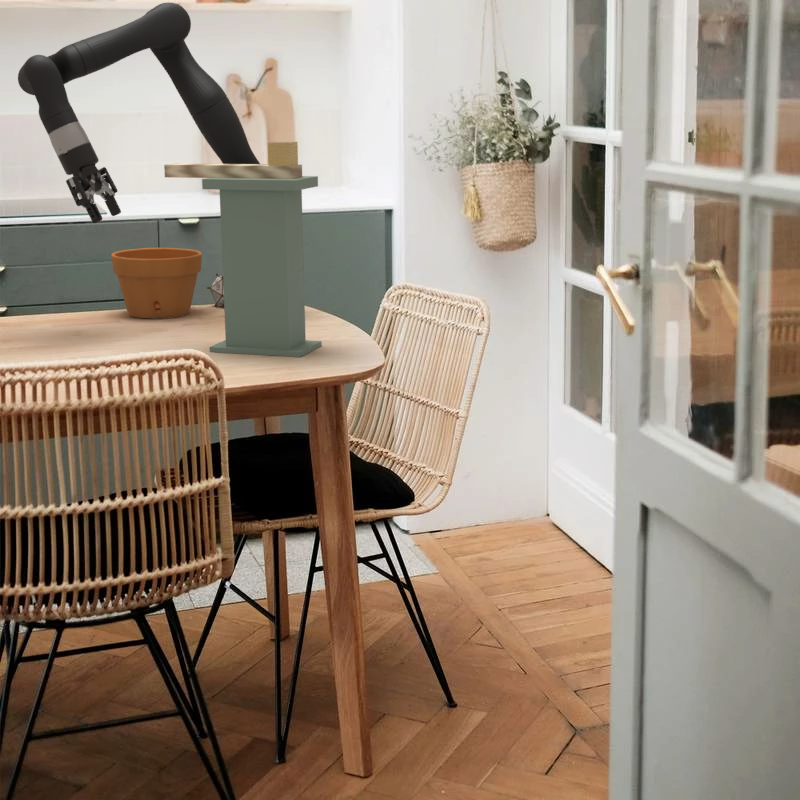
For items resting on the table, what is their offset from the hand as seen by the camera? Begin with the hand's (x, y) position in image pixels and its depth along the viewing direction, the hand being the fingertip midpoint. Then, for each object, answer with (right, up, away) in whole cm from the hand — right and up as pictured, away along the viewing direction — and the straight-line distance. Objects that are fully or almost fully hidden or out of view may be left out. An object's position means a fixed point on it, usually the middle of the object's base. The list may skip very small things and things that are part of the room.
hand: (107, 218), depth 278 cm
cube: (+40, +8, -20) cm, 45 cm away
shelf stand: (+35, -28, -10) cm, 46 cm away
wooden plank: (+29, +6, -16) cm, 34 cm away
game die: (+20, -16, +44) cm, 51 cm away
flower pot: (+5, -19, +33) cm, 38 cm away
